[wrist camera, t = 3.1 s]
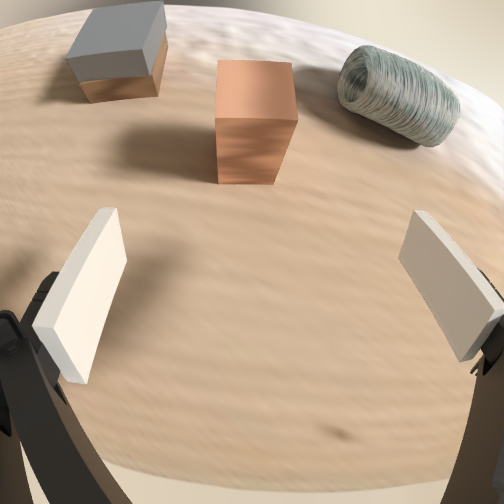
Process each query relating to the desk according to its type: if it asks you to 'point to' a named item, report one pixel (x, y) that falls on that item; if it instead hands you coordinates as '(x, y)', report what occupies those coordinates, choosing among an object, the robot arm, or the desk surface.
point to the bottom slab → (128, 83)
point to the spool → (398, 95)
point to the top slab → (118, 42)
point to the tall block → (253, 119)
